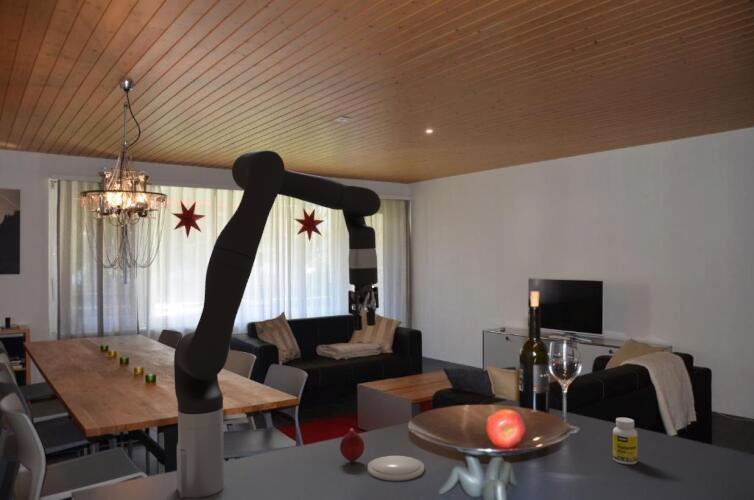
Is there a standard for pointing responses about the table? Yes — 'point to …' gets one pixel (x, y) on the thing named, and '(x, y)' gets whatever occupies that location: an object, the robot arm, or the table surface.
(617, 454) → the supplement bottle
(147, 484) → the table surface
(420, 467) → the saucer
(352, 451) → the onion
